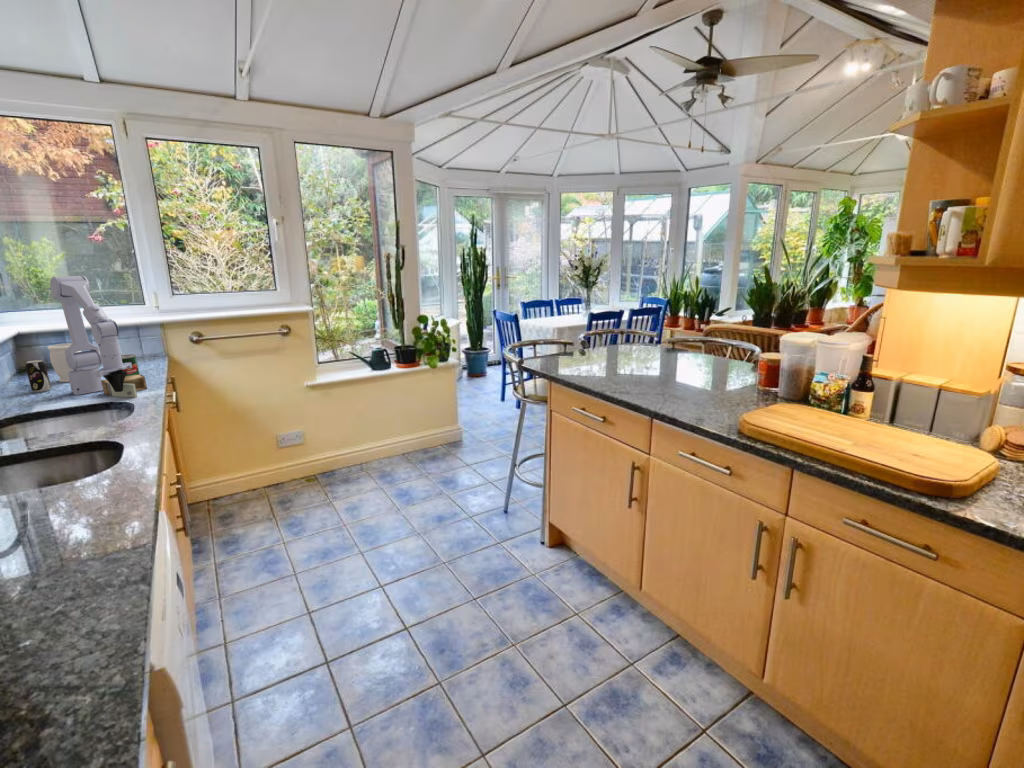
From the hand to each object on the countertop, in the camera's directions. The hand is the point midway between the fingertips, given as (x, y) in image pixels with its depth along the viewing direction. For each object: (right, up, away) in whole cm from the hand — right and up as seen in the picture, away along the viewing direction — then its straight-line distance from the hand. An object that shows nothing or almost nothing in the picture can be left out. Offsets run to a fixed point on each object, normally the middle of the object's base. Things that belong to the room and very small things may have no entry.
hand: (118, 391), depth 186 cm
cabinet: (-6, 0, +11) cm, 13 cm away
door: (-1, -2, +3) cm, 4 cm away
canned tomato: (-14, +3, +24) cm, 28 cm away
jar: (-42, +4, +29) cm, 51 cm away
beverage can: (-40, 0, +13) cm, 42 cm away
